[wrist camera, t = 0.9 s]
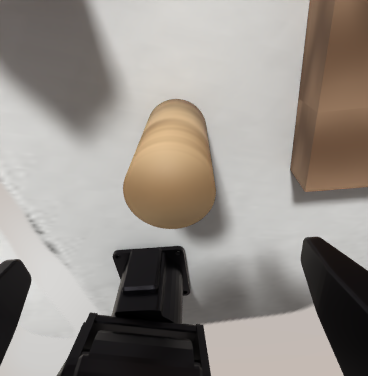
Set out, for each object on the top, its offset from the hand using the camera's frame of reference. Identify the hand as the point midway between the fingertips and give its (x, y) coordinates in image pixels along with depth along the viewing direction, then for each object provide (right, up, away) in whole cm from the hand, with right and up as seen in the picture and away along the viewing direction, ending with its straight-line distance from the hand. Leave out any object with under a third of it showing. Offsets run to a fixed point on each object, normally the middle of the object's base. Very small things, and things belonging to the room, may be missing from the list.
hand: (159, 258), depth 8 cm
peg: (0, +6, +10) cm, 12 cm away
